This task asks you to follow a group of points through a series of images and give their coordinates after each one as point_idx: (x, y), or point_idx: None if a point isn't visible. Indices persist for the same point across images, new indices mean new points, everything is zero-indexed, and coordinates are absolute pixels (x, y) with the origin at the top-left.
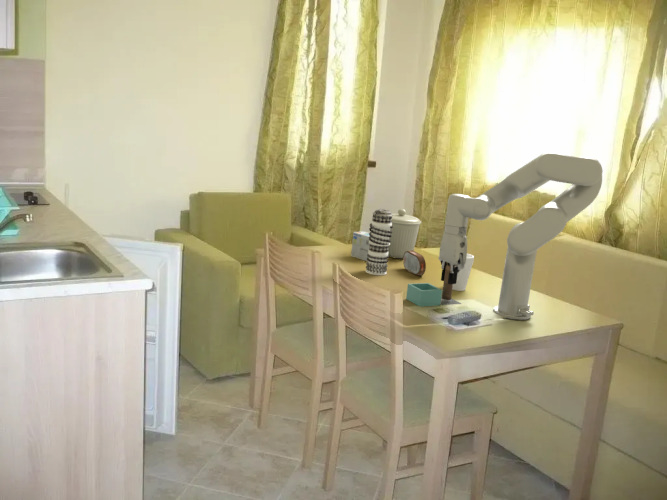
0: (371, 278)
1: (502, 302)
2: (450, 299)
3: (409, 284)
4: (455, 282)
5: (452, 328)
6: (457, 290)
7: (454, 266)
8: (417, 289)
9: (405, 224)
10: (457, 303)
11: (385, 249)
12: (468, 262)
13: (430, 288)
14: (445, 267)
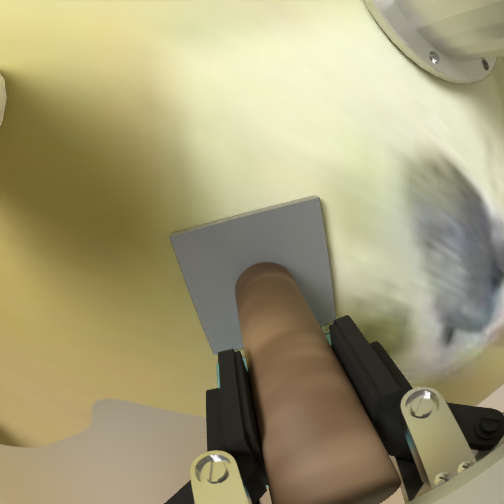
0: (8, 429)
1: (496, 55)
2: (285, 269)
3: (267, 486)
4: (353, 327)
5: (501, 329)
6: (3, 115)
7: (399, 479)
8: None
9: None
10: (315, 226)
11: None
12: None
13: None
14: (259, 496)
